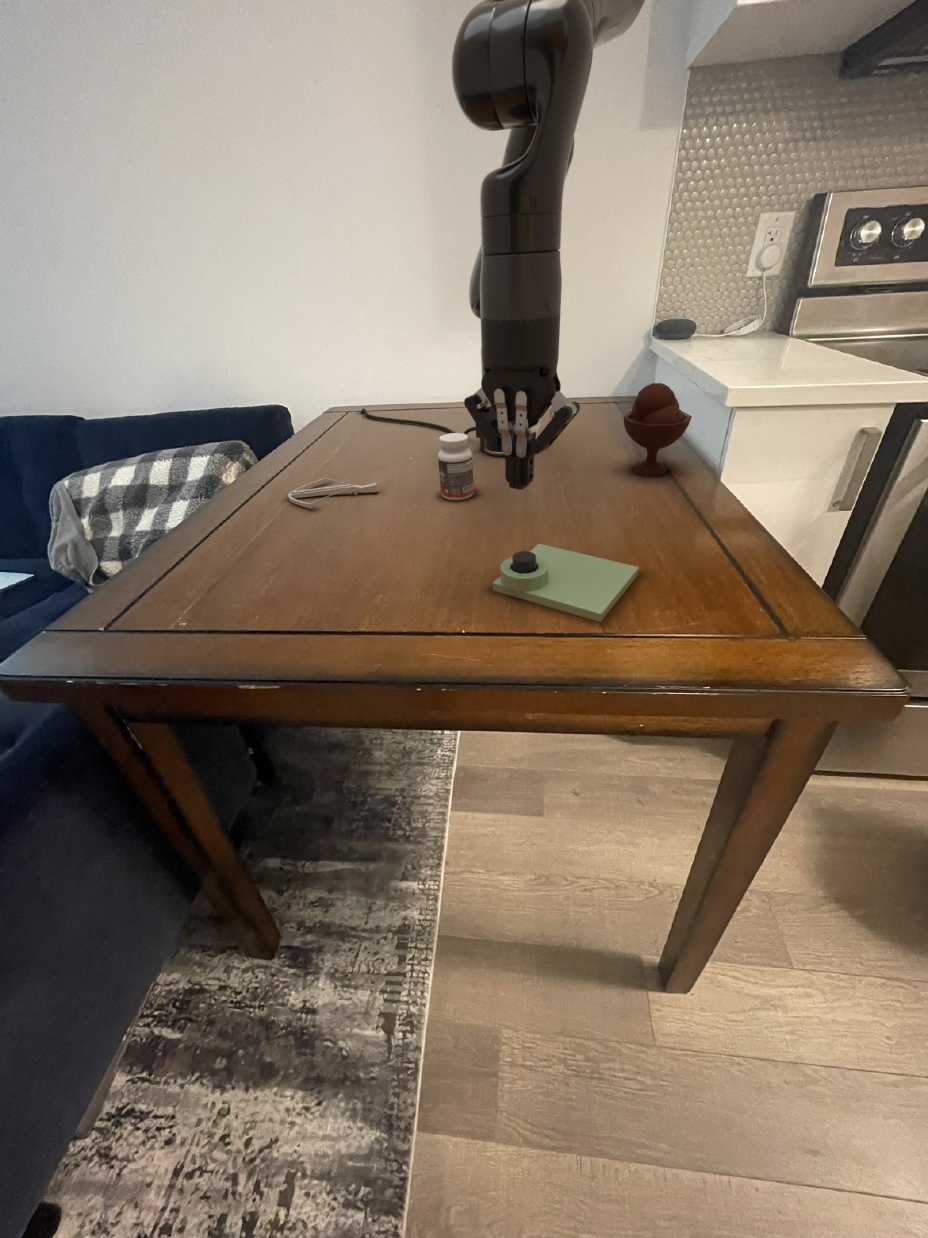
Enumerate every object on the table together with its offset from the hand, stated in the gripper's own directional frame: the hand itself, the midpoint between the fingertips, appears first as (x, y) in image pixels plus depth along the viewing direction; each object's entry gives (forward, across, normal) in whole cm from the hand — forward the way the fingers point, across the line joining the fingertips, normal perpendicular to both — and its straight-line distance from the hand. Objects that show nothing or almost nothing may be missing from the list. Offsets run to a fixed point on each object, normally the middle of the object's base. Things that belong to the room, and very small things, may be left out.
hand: (519, 486), depth 61 cm
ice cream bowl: (+13, -1, -46) cm, 48 cm away
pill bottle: (+13, +24, -21) cm, 34 cm away
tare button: (+10, -1, +1) cm, 10 cm away
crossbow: (+13, +44, -10) cm, 47 cm away
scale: (+13, -5, -3) cm, 14 cm away
